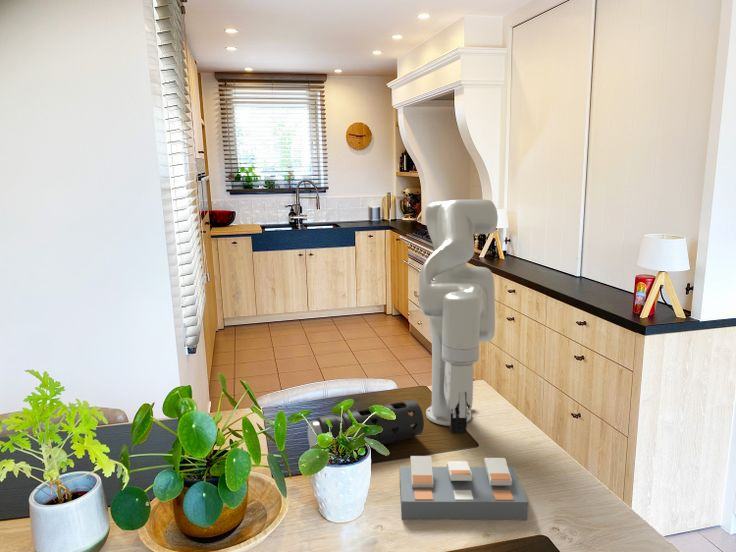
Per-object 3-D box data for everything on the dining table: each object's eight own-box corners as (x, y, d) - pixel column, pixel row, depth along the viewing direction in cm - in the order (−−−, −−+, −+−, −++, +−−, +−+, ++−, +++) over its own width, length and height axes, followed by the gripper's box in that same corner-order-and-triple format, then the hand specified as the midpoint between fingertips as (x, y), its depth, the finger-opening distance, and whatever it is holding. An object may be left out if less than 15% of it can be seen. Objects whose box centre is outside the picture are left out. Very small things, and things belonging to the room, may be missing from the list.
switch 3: (483, 466, 122) (484, 457, 122) (504, 466, 122) (505, 457, 121) (489, 489, 116) (490, 480, 115) (511, 490, 116) (512, 480, 115)
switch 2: (446, 472, 123) (446, 460, 122) (467, 472, 122) (467, 460, 122) (450, 486, 116) (450, 474, 115) (472, 486, 115) (472, 474, 115)
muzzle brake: (424, 445, 142) (424, 407, 140) (319, 469, 131) (317, 428, 129) (407, 429, 151) (407, 393, 149) (307, 451, 140) (305, 412, 138)
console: (399, 482, 125) (399, 465, 124) (512, 483, 125) (513, 466, 124) (401, 519, 113) (401, 500, 112) (527, 520, 112) (528, 501, 111)
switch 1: (410, 463, 123) (410, 455, 121) (430, 463, 123) (430, 455, 121) (411, 491, 117) (412, 483, 116) (432, 491, 117) (433, 483, 115)
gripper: (438, 339, 123) (437, 415, 127) (446, 365, 109) (444, 451, 113) (472, 339, 123) (470, 415, 127) (485, 365, 108) (481, 451, 113)
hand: (458, 432), depth 120 cm, fingers closed
